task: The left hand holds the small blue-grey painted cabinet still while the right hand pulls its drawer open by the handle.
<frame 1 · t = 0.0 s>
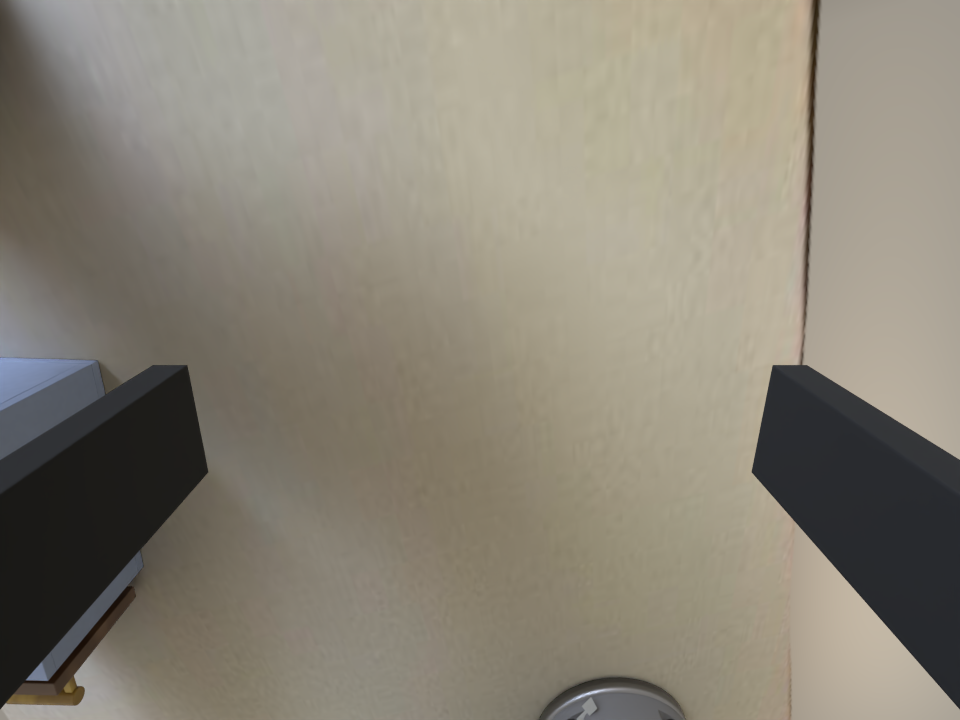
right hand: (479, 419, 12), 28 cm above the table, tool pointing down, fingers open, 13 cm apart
cabinet: (57, 469, 45), on the table
drawer: (21, 574, 42), point 6 cm above the table, slide at 1.4 cm
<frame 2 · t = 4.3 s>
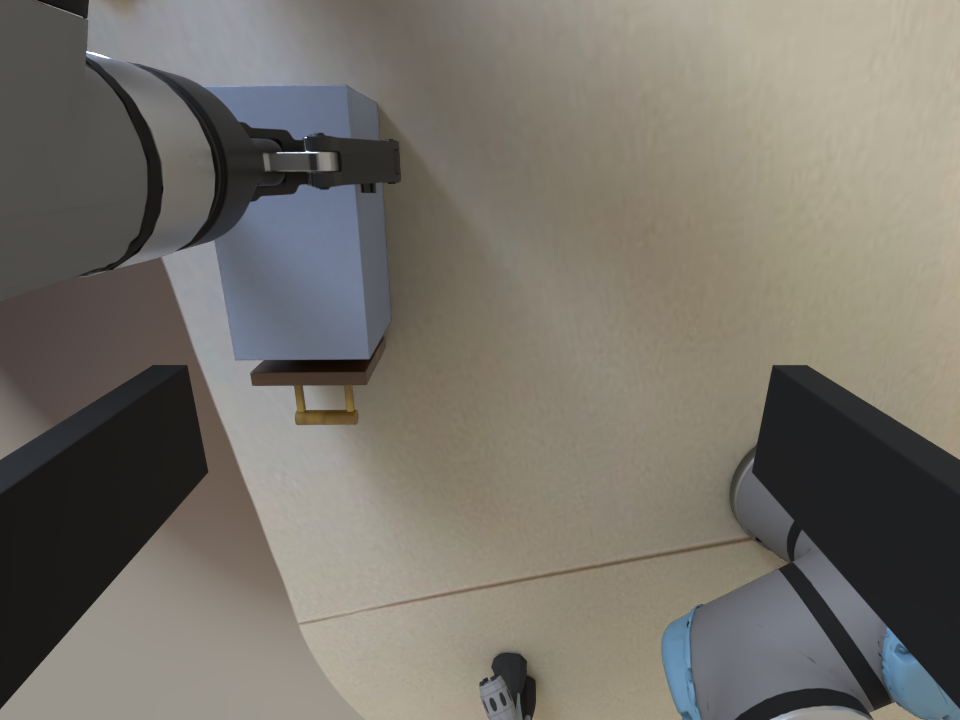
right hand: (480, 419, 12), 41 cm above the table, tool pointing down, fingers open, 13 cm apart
cabinet: (327, 219, 50), on the table, touching left hand
robot: (515, 673, 70), on the table
drawer: (317, 294, 47), point 6 cm above the table, slide at 1.4 cm
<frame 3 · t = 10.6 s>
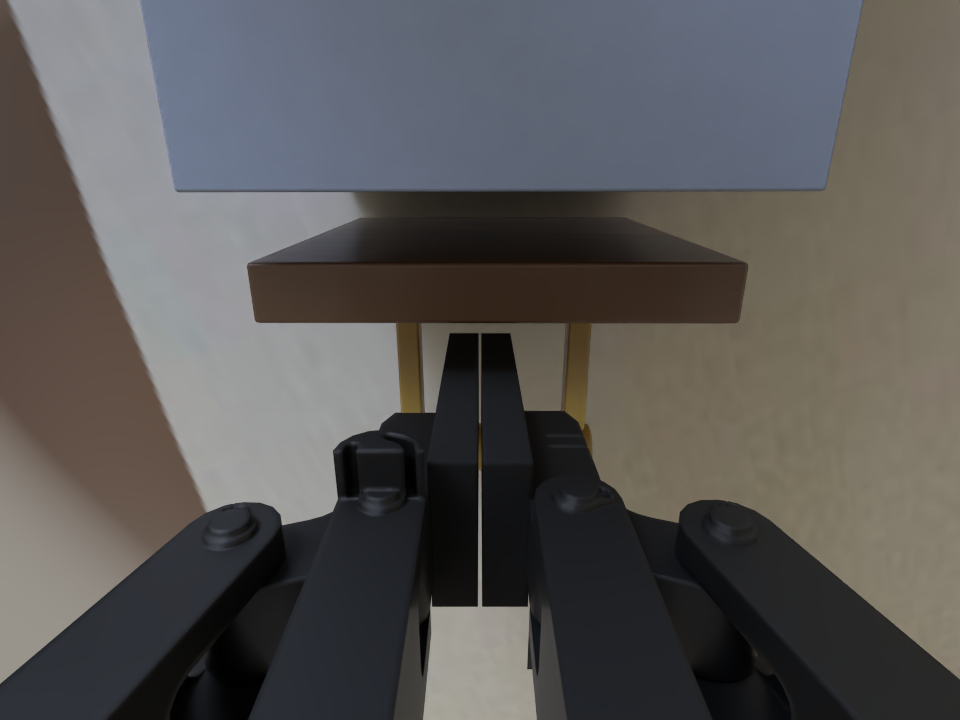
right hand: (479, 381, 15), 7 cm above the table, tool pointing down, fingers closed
drawer: (494, 3, 13), point 6 cm above the table, slide at 1.3 cm
when the left hand's fingers open (7 cm above the table, at t = 14.3 s): cabinet stays where it is, on the table.
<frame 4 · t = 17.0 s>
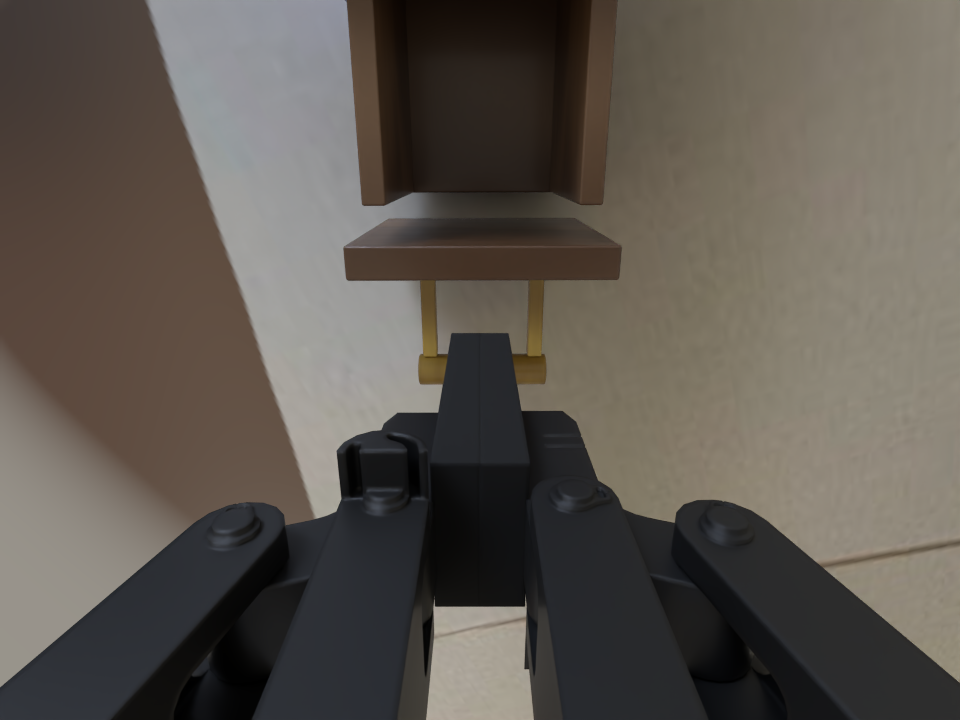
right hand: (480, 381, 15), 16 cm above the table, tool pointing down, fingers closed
drawer: (481, 88, 21), point 6 cm above the table, slide at 8.6 cm
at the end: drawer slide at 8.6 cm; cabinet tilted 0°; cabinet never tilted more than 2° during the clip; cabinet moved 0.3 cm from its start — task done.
